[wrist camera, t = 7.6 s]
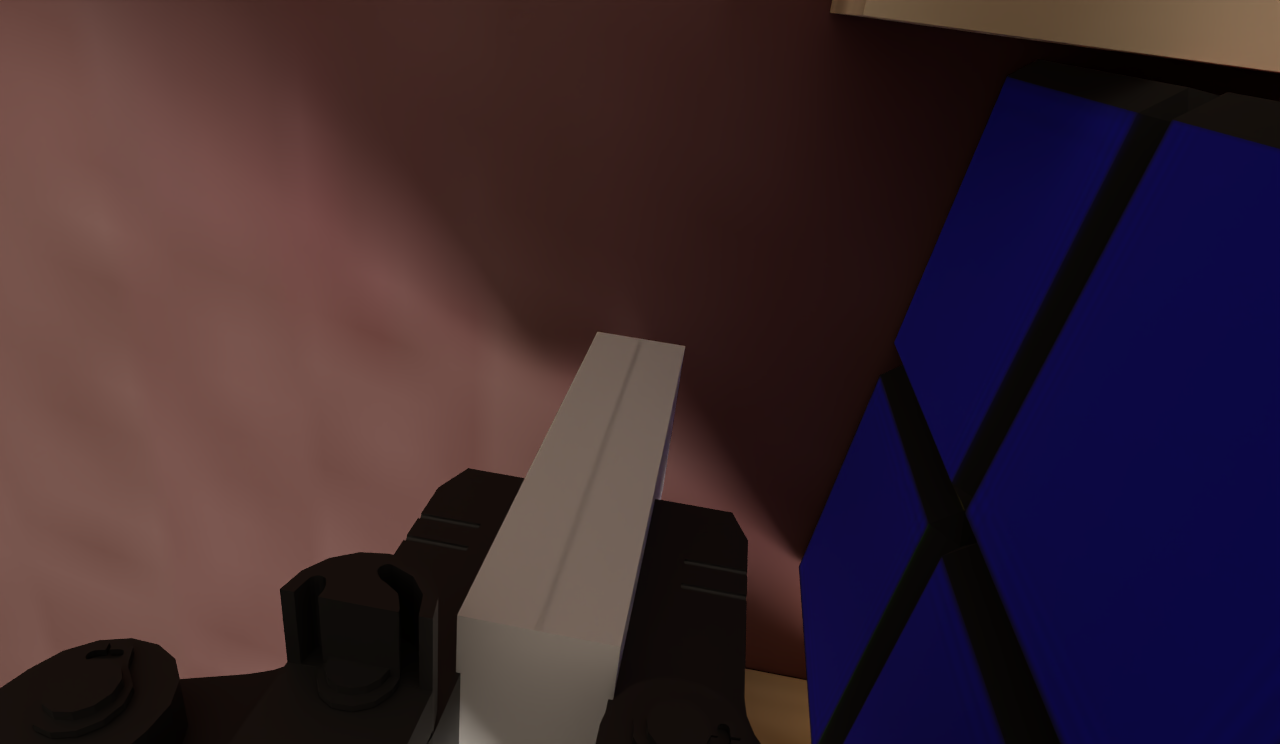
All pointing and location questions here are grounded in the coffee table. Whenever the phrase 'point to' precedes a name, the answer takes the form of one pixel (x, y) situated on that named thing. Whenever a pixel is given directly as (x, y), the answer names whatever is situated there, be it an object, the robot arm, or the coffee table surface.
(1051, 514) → the puzzle cube
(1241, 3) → the u-shaped frame
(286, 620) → the robot arm
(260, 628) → the coffee table surface
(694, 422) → the coffee table surface
